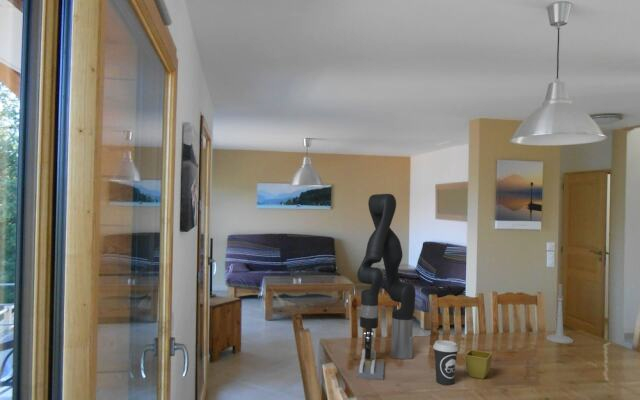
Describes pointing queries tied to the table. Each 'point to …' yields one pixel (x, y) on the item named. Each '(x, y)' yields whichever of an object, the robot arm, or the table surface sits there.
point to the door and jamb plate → (371, 367)
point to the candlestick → (559, 322)
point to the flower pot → (478, 363)
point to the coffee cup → (445, 361)
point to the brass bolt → (368, 361)
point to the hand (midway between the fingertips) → (368, 357)
